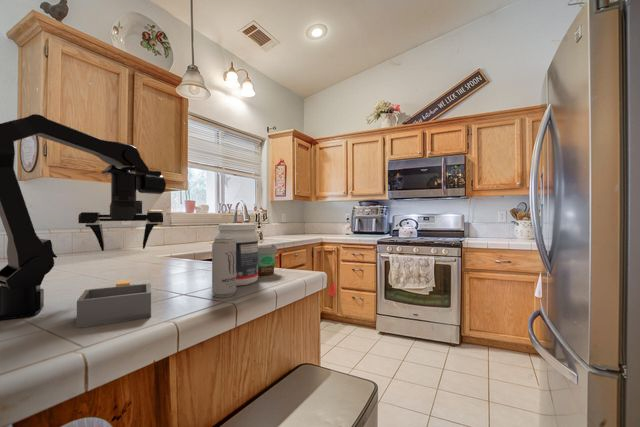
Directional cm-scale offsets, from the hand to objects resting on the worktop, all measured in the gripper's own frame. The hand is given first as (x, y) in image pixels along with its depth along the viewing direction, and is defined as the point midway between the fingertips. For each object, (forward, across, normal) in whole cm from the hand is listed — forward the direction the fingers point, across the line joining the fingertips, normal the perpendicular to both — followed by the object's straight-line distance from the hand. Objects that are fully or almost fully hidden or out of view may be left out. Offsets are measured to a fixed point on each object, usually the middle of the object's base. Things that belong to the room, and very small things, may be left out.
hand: (123, 249), depth 81 cm
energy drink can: (+12, +23, -16) cm, 30 cm away
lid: (+12, 0, -5) cm, 13 cm away
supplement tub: (+12, +30, -3) cm, 32 cm away
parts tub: (+12, 0, -21) cm, 24 cm away
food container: (+12, +42, +4) cm, 44 cm away
